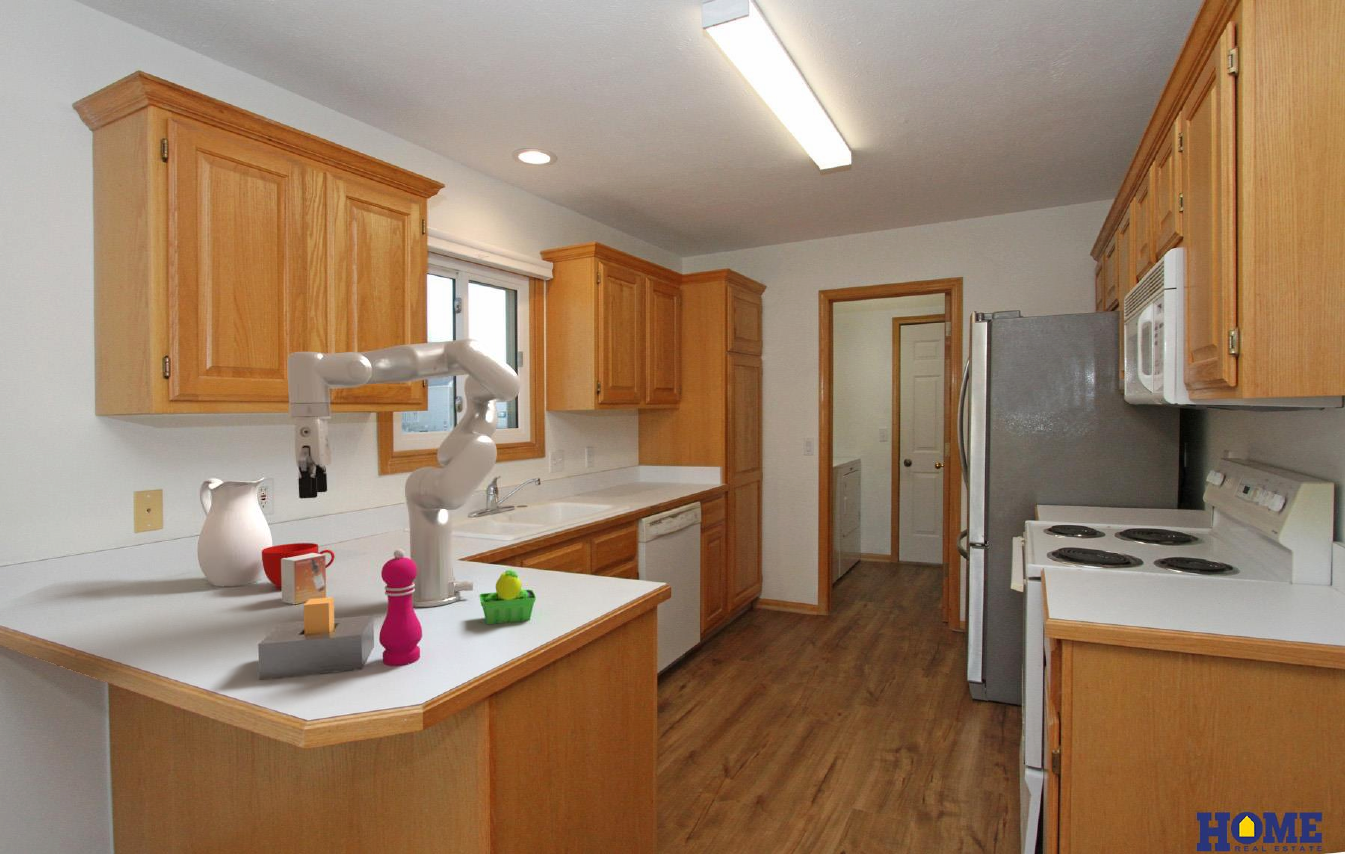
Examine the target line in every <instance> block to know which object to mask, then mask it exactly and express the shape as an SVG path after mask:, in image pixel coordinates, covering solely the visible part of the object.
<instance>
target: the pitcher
mask: <svg viewBox="0 0 1345 854" xmlns="http://www.w3.org/2000/svg"><path fill="white" fill-rule="evenodd" d="M265 480H266V477H262V478H261V479H258V480H254V481H245V480H244V481H243V480H242V481H241V480H228V481H224V482H223V481H222V479H219V478H215V477H214V478H213V477H212V478H211V477H210V478H207V479H205V480H204V481H203V482H202V484H201V485H200V488H199V501H200V504H201V507H202V510H203V512H204V513H205V516H206V518H205V520H204V523H203V526H202V528H201V530H200V534H199V537H198V542H197V561H198V565H199V567H200V570H201V572H202V574H203V575H204V577H205V578H206V579H207V581H208V582H209V583H210V584H211V585H212V586H213V585H214V587H218V586H231V587H238V586H245V584H246V585H249V583H250V584H253V583H256V582H258V581H260V580H261V579H262V578H263V576H264V575H265V571H264V568H263V562H262V550H263V549H265V548H268V547H272V546H273V538H272V533H271V530H270V527H269V525H268V522H267V520H266V517H265V515H264V513H263V512H262V509H261V507H260V504H259V501H258V491H259V489H260V486H261V485H262V484H263V482H264V481H265Z"/></svg>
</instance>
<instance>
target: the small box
mask: <svg viewBox="0 0 1345 854" xmlns="http://www.w3.org/2000/svg"><path fill="white" fill-rule="evenodd" d="M326 562H327V561H326V555H325V554H324V553H323V554H317V553H310V554H305V555H300V556H295V557H290V558H282V559H281V578H282V589H281V602H282V603H285V604H289V605H294V606H296V605H299V604H302V603H306V602H307V601H308V600H309V599H317V598H327V572H326V571H327V570H326V569H327V568H326V565H327V564H326ZM295 604H296V605H295Z"/></svg>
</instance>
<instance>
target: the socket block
mask: <svg viewBox="0 0 1345 854" xmlns="http://www.w3.org/2000/svg"><path fill="white" fill-rule="evenodd" d="M374 620H375V619H374V615H362V616H361V615H359V616H349V617H338V618H337V617H336V618H335V617H334V631H333V632H327V633H316V634H304V620H301V621H300V620H299V621H289V622H279V623H278V624H277V625H276V626H275V627H274V628H273V629H272V630H271V631H270V632H269V633H268V634H267V635H266V636H265V637H264V638H262V640H261V641H260V642H259V643H258V645H257V648H258V649H257V650H258V678H259V679H258V680H260V681H261V680H270V679H278V678H279V677H281V678H289V677H299V676H301V677H302V676H310V675H309V674H311V675H319V674H320V675H321V674H329V672H330V673H339V672H348V671H358V670H363V669H364V667H365V665H366V663H367V661H368V659H369V658H368V657H370V655H371V653H372V652H373V650H374V648H375V630H374V628H375V627H374V625H375V623H374ZM371 651H372V652H371ZM279 679H280V678H279Z"/></svg>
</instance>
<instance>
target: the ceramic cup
mask: <svg viewBox="0 0 1345 854" xmlns="http://www.w3.org/2000/svg"><path fill="white" fill-rule="evenodd" d="M319 548H320V547H319V544H318V543H315V542H314V543H312V542H295V543H285V544H279V545H272V547H268V548H265V549H263V550H262V562H263V568H264V571H265V573H264V575H265V576H266V578H267V579H268V580H269V582H270V583H271V584H272V585H274V587H276V589H279V590H282V578H281V559H282V558H290V557H295V556H300V555H305V554H310V553H317V554H323V555H324V554H326V553H327V554H330V557H331V558H330V560H329V562H328V563H327V564H326V569H327V568H329V566H331V564H333V562H334V560H335V553H334V552H333V551H332V550H330V549H324V550H320V551H319Z"/></svg>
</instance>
